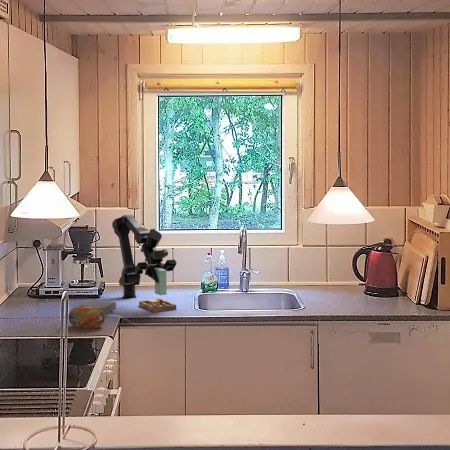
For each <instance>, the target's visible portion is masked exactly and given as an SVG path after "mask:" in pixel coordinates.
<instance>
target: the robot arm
mask: <svg viewBox="0 0 450 450" xmlns="http://www.w3.org/2000/svg"><path fill="white" fill-rule="evenodd" d="M111 226H112V229H113V232H114V234H115V235H116V236H117V237H118V242H119V245H120V252H121V257H122V263H123V267H122V269H121V276H120V278H119V280H118V283H119V286H121V287H122V290H123V294H122V300H124V299H125V300H127V299H128V300H129V299H137V294H136V286H140V282H141V275H142V274H143V273H144V275H145V276H148V277H150V279H152V280H154V282H155V281H156V282H157V283H159V280H158V277H157V275H156V272H155V269H160V268H162V269H165V270H166V272H173V271H174V270H175V268H176V266H177V264H178V263H177V261H176V259H166V261H165V262H163V261H164V260H163V259H164V258H166V257H168V255H169V252H168V249H167V248H163V249H161V250H156V248H157V247H158V245H159V243H160V242H161V240H162V236H163V235H162V234H161V232H159V231H158V230H156V229H155V228H150V229H148V228H144V227H143V226H142V225H141V224H140V223H139V222H138V221H137V220H136V218H135V216H134V214H124V215H122V216H121V217H117V218H115V219H114V220H113V221H112V224H111ZM130 232H132V233H133V234H134V240H135V242H136V244H138V245H140V244H141V249H140V252H141V253H143V255H144V257H145V259H144V261H142V262H141V261H139V262H137V264H135V263H134V258H133V253H132V252H133V251H132V247H131V242H130V235H129V234H130ZM144 271H145V272H144Z"/></svg>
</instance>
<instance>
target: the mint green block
mask: <svg viewBox="0 0 450 450" xmlns="http://www.w3.org/2000/svg"><path fill="white" fill-rule="evenodd" d="M155 272H156V275H157V277H158V280H159V283H157V282H156V281H154V294H156V295H158V296H166V295H167V271H166V270H165V269H162V268H160V269H155Z"/></svg>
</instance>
